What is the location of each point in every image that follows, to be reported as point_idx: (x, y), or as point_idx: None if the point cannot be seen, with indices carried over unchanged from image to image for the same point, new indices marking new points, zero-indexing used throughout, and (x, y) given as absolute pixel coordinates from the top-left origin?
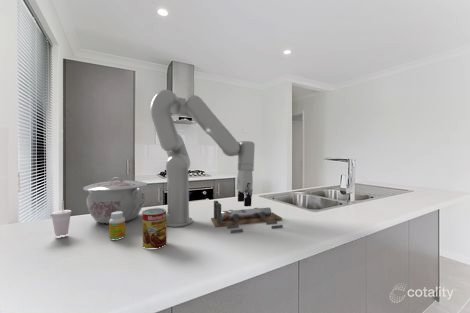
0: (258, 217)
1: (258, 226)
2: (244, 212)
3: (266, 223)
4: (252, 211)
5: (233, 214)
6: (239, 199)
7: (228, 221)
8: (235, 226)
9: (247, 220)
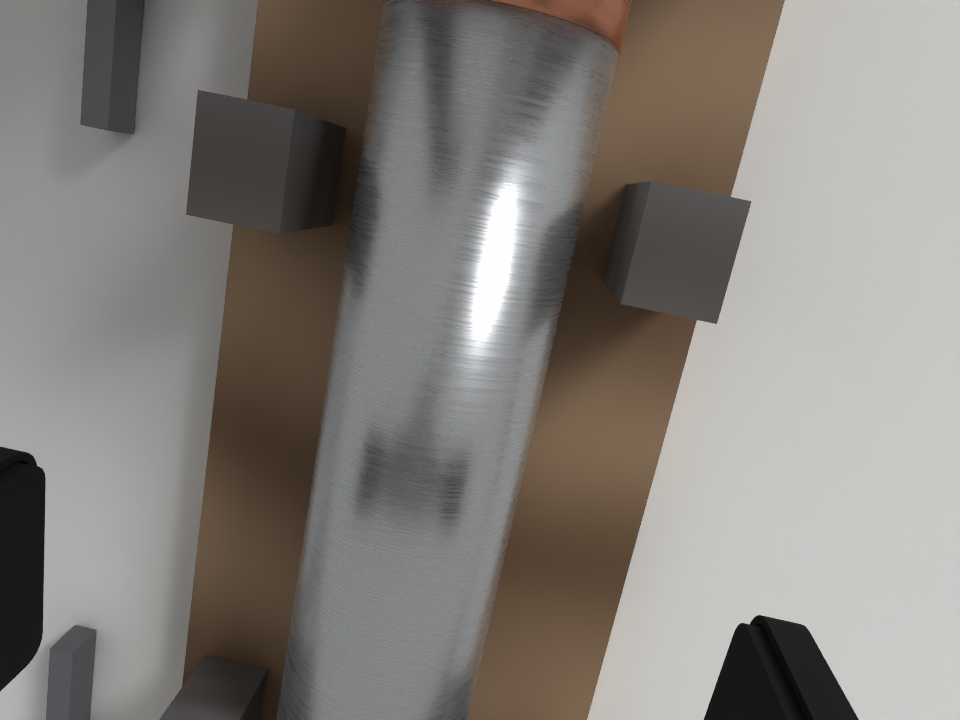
0: None
1: (47, 467)
2: (319, 464)
3: (74, 637)
4: (292, 657)
5: (254, 106)
6: (747, 708)
7: (366, 21)
8: (96, 53)
9: (255, 417)
